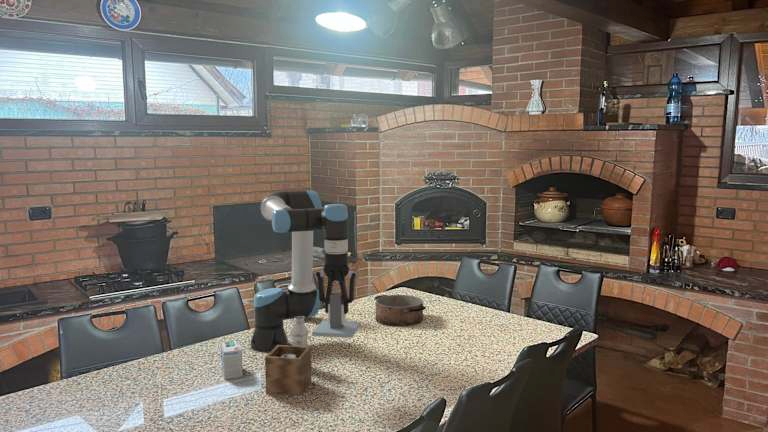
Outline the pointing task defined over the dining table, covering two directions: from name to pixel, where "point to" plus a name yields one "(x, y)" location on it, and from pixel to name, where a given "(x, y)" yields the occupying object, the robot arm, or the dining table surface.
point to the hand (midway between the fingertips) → (336, 322)
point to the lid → (336, 321)
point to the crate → (288, 370)
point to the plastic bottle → (299, 332)
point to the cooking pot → (399, 310)
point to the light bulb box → (231, 360)
